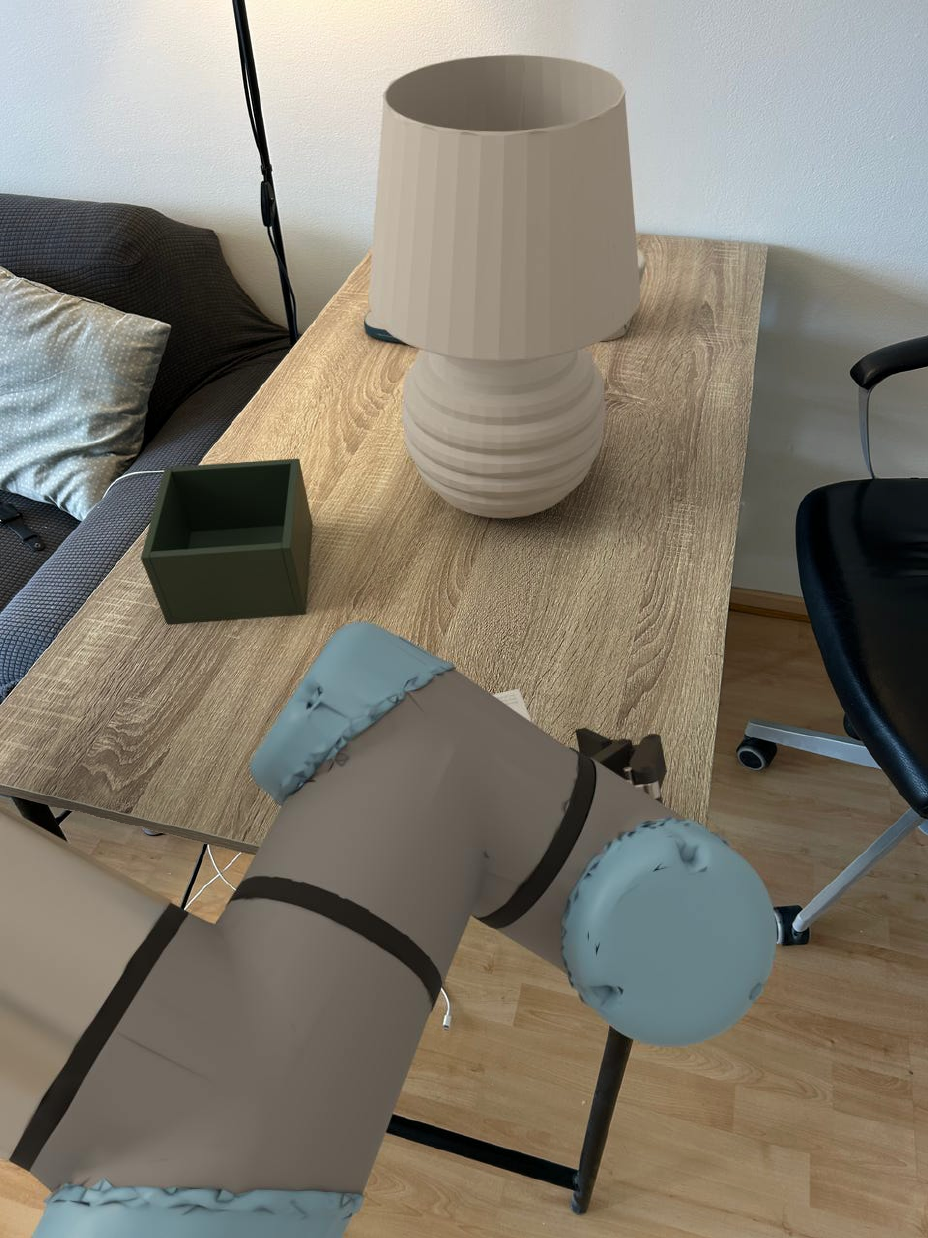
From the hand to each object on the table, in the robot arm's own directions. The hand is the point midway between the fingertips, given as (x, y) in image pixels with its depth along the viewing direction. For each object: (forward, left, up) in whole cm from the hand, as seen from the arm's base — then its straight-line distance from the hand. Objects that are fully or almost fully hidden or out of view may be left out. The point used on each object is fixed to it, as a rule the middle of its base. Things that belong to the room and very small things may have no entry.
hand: (495, 766), depth 66 cm
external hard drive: (-2, +86, -8) cm, 86 cm away
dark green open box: (-23, +31, -7) cm, 40 cm away
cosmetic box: (0, +1, -8) cm, 8 cm away
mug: (+20, +77, -8) cm, 80 cm away
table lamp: (+5, +42, -8) cm, 43 cm away
